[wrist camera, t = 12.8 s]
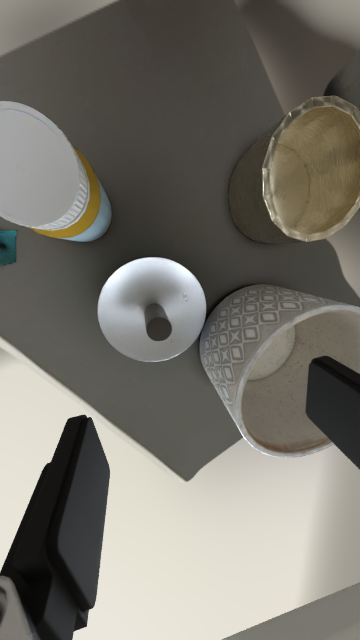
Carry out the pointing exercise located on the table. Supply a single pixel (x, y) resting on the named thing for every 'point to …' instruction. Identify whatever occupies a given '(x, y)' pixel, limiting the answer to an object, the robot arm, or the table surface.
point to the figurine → (7, 246)
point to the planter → (276, 361)
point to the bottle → (47, 179)
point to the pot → (300, 175)
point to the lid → (151, 309)
